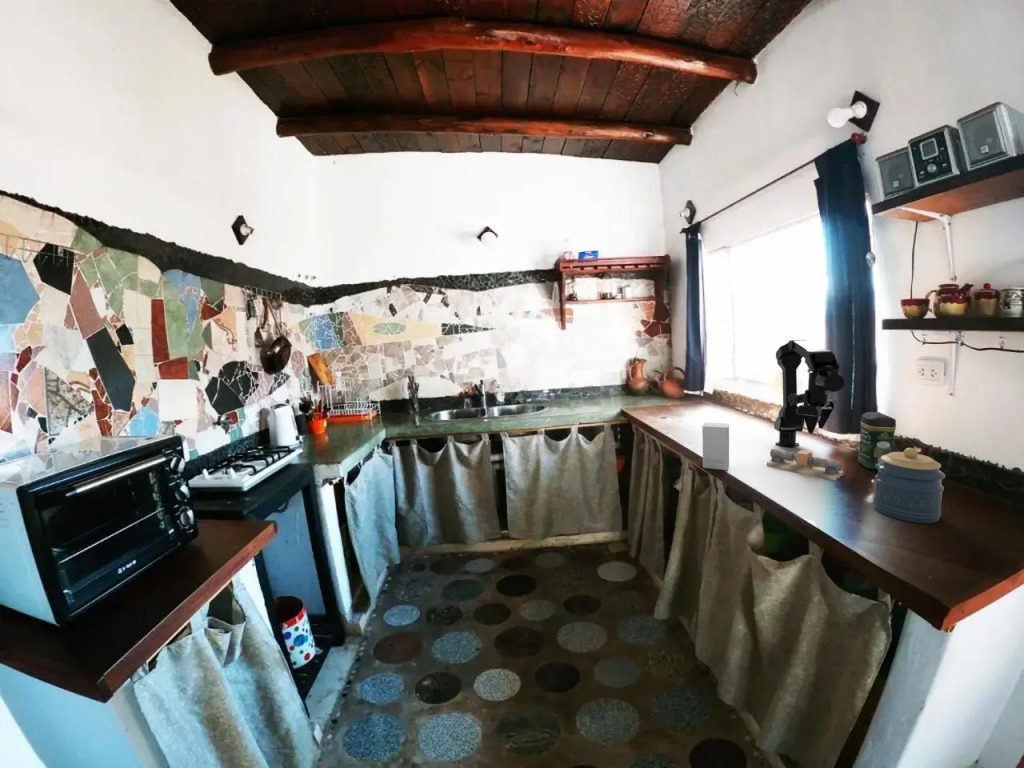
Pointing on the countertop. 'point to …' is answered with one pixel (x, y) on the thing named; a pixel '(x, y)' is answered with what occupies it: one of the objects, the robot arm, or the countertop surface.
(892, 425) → the coffee jar
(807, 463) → the coupling
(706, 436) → the skincare box
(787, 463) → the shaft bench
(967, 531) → the countertop surface
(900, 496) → the canister
